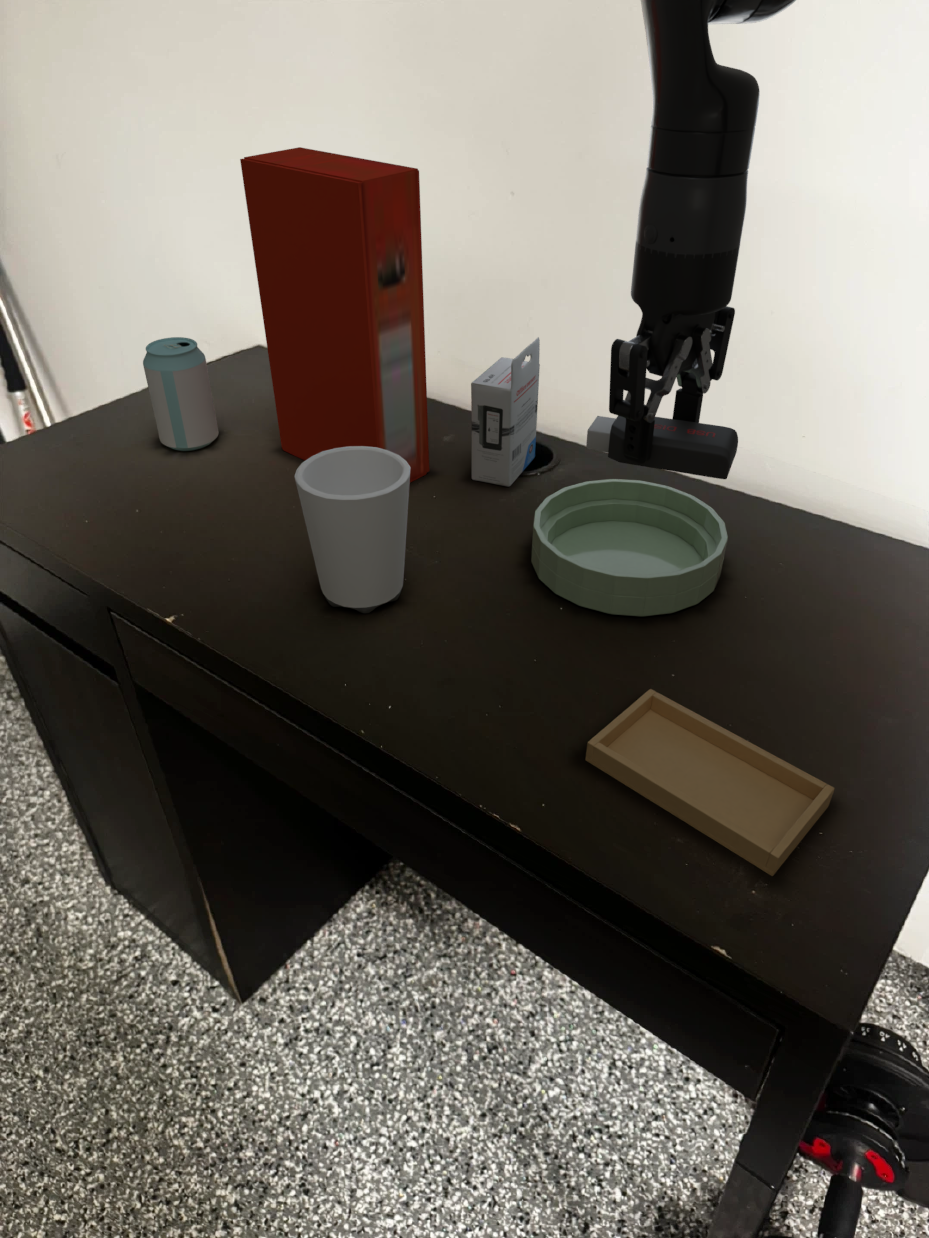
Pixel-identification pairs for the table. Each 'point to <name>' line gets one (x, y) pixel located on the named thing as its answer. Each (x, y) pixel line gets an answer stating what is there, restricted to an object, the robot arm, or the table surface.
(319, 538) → the cup
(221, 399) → the table surface
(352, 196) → the file binder
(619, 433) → the usb drive
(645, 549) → the green round dish
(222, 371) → the table surface
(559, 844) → the table surface
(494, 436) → the ink box
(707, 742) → the tray
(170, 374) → the can
